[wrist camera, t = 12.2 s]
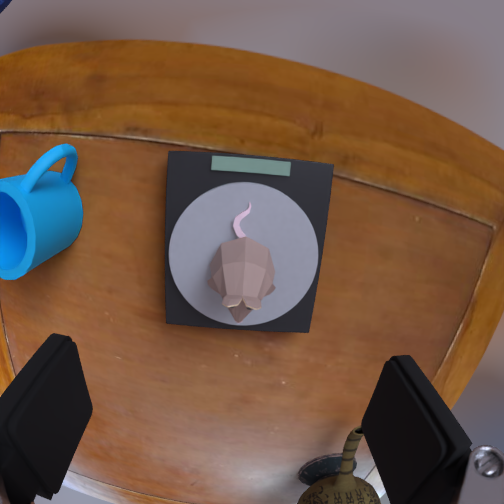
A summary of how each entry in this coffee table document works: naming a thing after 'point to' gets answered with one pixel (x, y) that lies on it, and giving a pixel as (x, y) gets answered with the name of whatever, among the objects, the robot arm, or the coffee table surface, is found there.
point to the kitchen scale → (253, 226)
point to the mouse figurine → (242, 272)
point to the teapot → (337, 477)
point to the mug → (38, 213)
